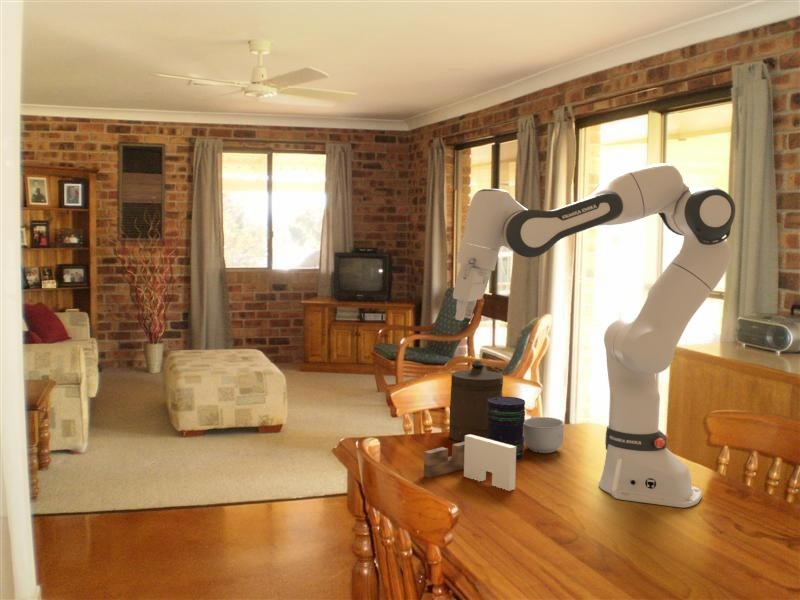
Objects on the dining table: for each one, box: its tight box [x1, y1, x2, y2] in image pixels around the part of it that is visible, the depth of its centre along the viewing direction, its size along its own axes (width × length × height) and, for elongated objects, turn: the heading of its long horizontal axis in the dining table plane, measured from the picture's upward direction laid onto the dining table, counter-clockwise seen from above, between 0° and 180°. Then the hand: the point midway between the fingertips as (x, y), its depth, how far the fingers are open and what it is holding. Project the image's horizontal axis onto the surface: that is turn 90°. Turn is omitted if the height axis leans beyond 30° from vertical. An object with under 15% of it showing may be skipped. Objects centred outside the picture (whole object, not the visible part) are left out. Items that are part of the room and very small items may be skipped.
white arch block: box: [463, 434, 517, 492], centre depth 192 cm, size 14×2×10 cm, turn 43°
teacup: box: [523, 415, 565, 454], centre depth 222 cm, size 14×11×8 cm
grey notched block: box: [423, 441, 465, 479], centre depth 201 cm, size 16×2×6 cm, turn 133°
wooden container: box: [448, 360, 504, 442], centre depth 232 cm, size 15×15×22 cm
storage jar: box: [486, 395, 526, 462], centre depth 213 cm, size 10×10×15 cm
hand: (463, 318), depth 185 cm, fingers open, 8 cm apart
